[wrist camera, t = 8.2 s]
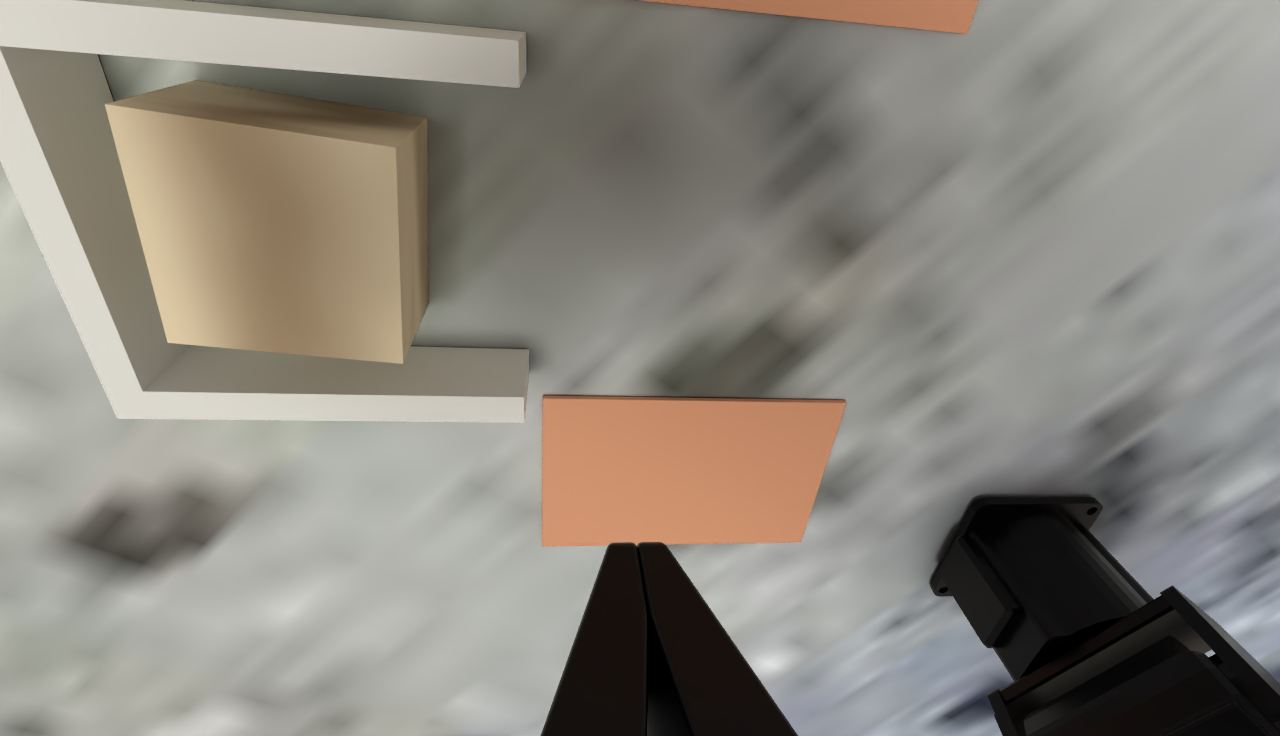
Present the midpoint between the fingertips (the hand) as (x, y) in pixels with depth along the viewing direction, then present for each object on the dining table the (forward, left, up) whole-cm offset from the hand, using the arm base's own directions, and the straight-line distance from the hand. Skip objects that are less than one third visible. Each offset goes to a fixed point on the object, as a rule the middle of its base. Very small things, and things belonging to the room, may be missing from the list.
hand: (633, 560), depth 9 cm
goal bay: (+9, -1, -13) cm, 16 cm away
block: (+8, -1, -13) cm, 16 cm away
